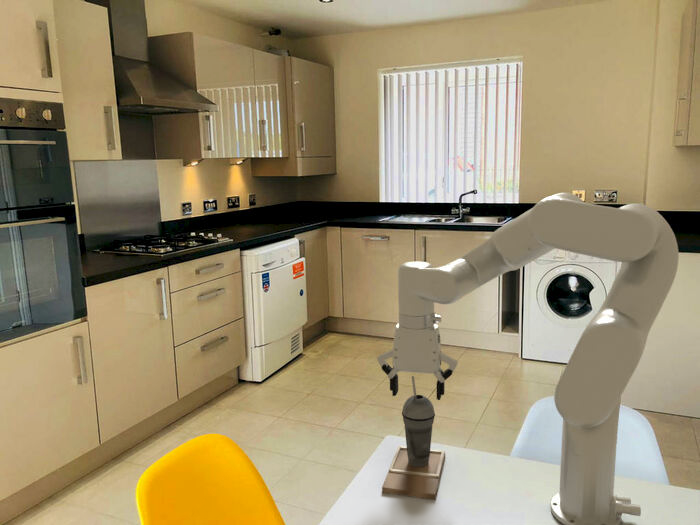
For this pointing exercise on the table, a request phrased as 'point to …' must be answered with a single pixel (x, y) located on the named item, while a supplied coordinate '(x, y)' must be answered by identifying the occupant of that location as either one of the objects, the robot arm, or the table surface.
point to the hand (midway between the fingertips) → (417, 395)
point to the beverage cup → (418, 428)
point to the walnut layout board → (414, 475)
